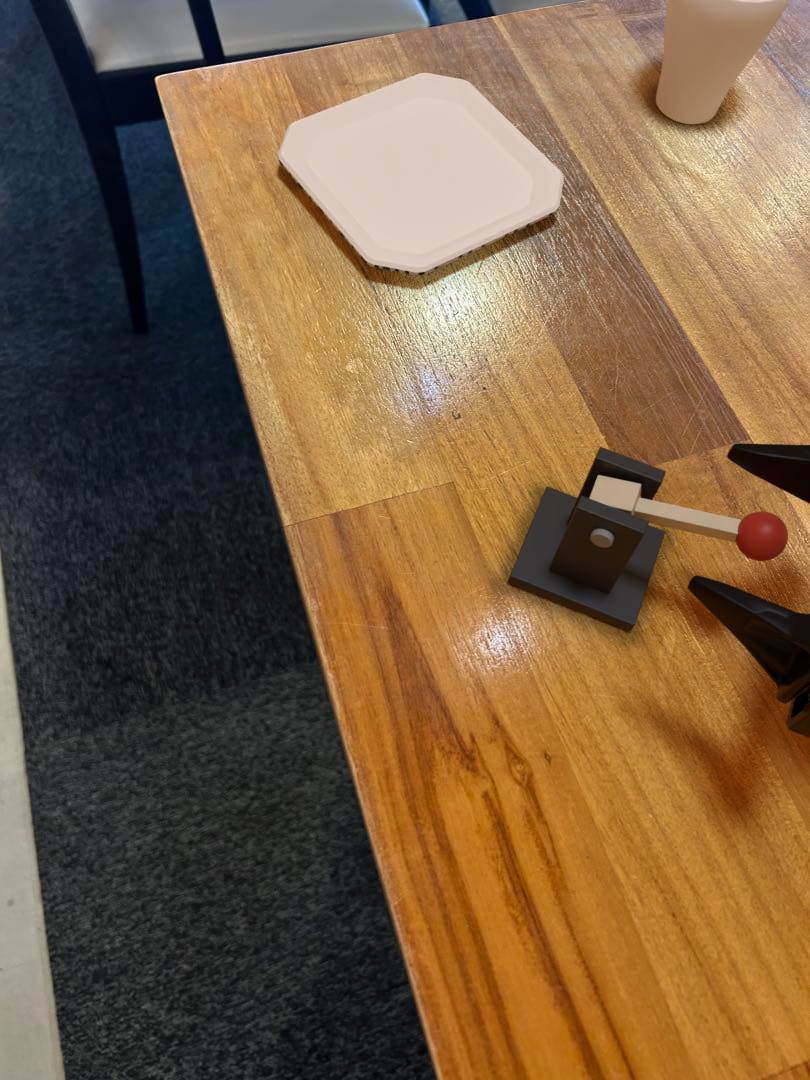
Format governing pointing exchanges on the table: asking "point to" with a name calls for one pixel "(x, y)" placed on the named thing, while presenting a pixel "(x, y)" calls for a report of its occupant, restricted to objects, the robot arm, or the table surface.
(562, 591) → the switch base
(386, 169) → the plate
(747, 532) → the switch lever
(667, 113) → the cup
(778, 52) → the table surface
